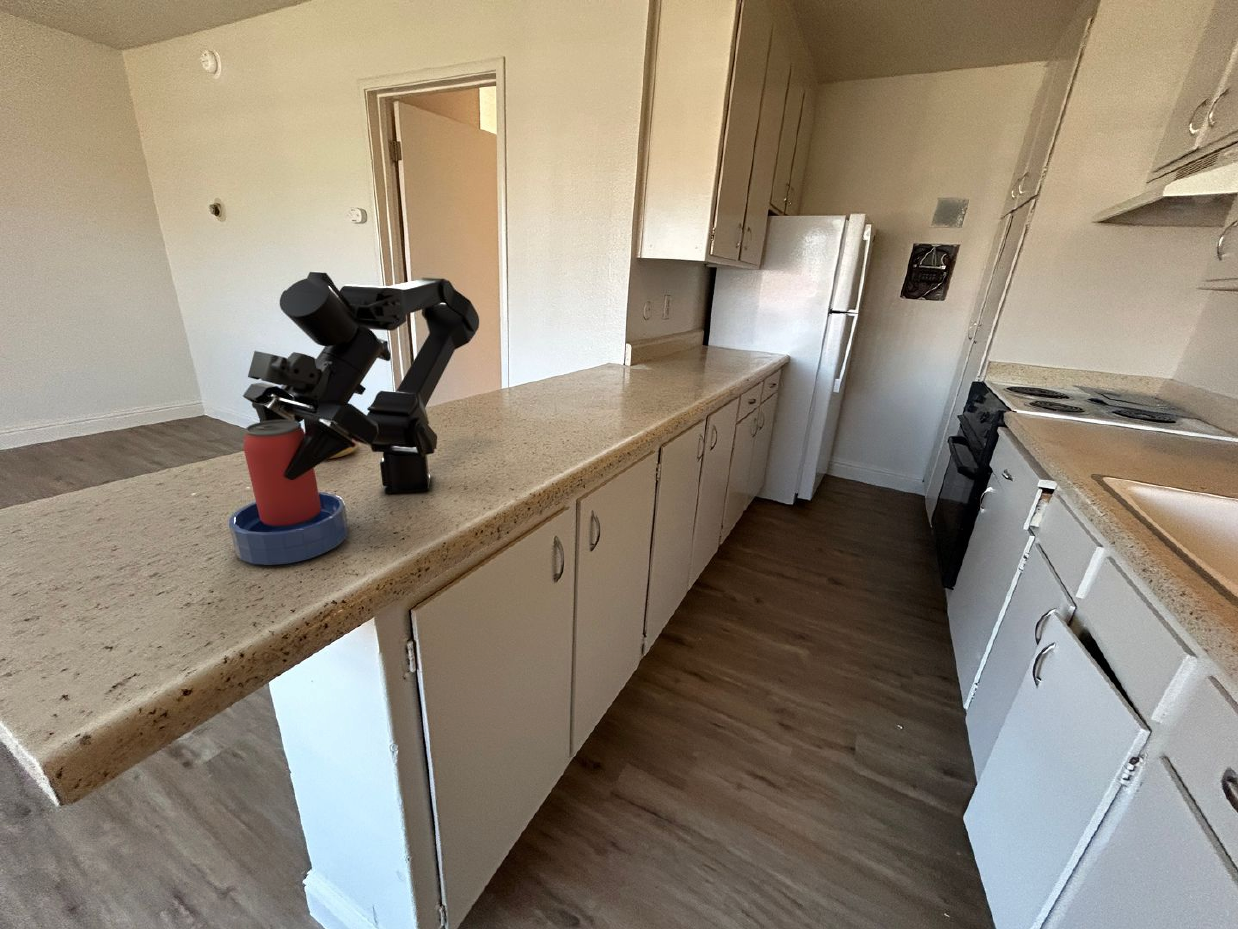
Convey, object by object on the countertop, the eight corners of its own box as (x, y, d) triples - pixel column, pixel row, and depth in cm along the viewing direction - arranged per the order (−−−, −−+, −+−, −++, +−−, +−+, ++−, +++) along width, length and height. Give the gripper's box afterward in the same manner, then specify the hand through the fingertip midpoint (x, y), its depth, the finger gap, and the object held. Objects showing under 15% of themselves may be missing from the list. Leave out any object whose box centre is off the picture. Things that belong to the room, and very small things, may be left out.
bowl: (356, 517, 72) (352, 488, 71) (337, 562, 61) (332, 529, 60) (257, 525, 69) (251, 494, 67) (219, 573, 58) (210, 538, 56)
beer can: (278, 505, 67) (259, 417, 63) (331, 505, 68) (316, 418, 63) (249, 529, 61) (225, 434, 56) (307, 529, 61) (288, 435, 57)
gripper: (243, 317, 63) (159, 423, 58) (341, 332, 55) (254, 457, 50) (315, 371, 72) (249, 467, 67) (408, 391, 64) (340, 501, 59)
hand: (270, 472), depth 61 cm, fingers closed on beer can, 6 cm apart
